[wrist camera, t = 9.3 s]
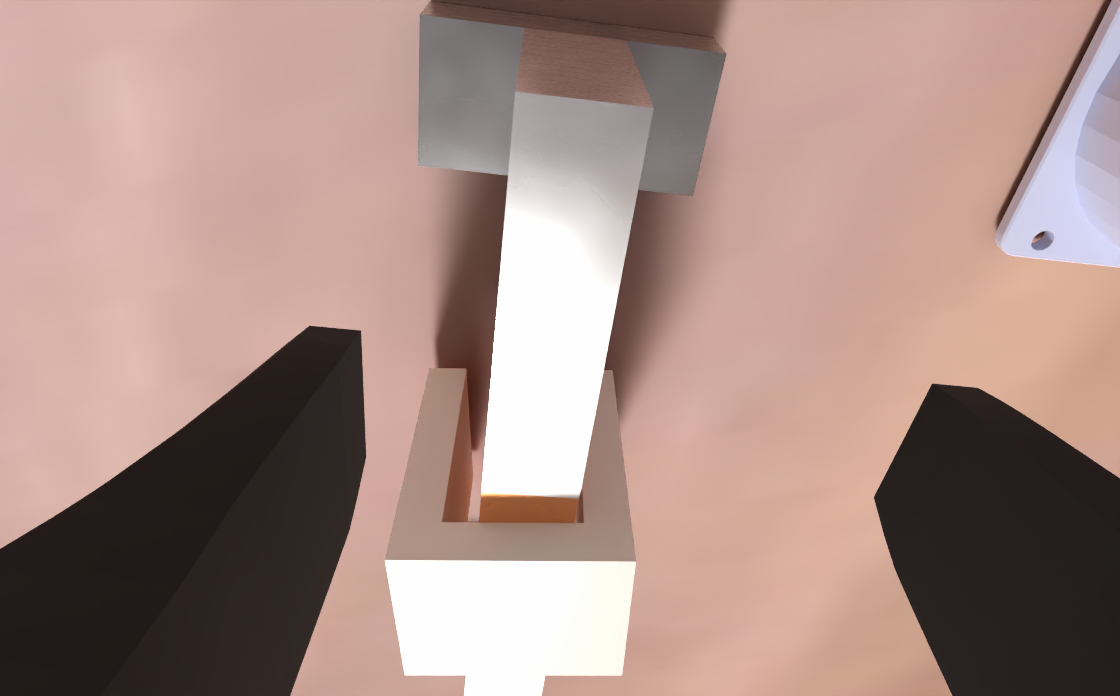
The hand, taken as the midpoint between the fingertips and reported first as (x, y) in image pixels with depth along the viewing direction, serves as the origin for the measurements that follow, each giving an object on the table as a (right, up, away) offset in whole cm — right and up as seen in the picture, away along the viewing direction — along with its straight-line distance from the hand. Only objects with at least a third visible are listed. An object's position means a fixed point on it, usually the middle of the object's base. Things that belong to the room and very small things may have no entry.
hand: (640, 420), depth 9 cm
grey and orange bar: (-2, 0, +12) cm, 12 cm away
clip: (-2, -1, +12) cm, 12 cm away
